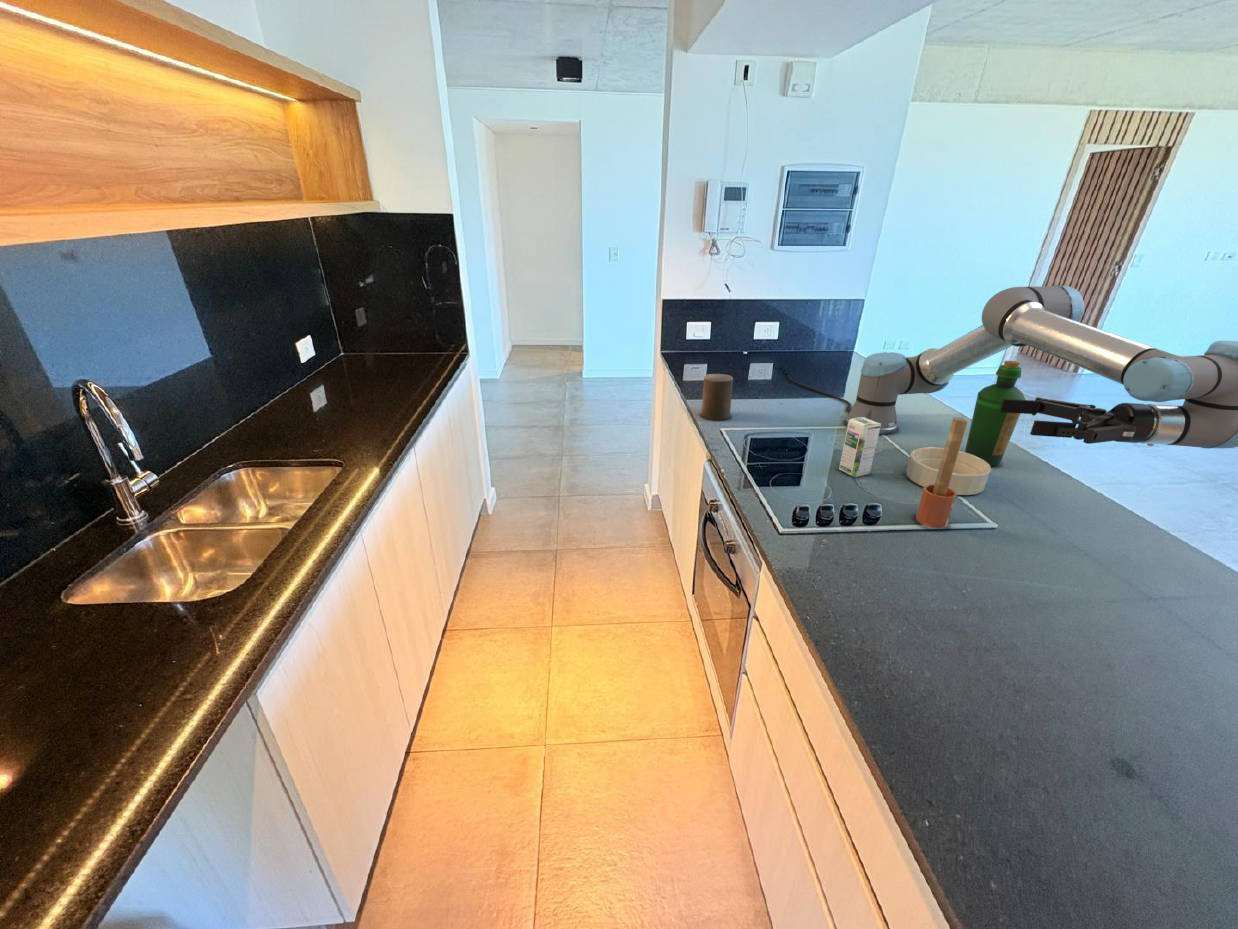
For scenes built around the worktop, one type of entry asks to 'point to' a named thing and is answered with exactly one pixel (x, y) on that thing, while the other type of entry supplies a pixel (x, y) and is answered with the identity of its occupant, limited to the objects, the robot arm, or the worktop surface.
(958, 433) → the stirring stick
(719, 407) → the pillar candle
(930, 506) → the utensil pot
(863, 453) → the syrup box
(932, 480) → the bowl
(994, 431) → the bottle
